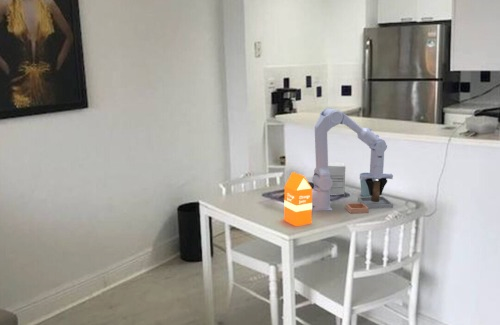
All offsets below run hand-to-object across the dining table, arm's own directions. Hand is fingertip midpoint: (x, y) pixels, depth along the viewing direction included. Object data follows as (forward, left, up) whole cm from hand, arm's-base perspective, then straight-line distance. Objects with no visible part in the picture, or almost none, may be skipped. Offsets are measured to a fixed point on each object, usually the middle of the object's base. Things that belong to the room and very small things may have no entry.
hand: (375, 194), depth 233 cm
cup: (+2, +16, -5) cm, 17 cm away
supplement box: (-13, +21, -5) cm, 25 cm away
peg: (0, 0, -3) cm, 3 cm away
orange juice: (-39, -18, -5) cm, 43 cm away
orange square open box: (-11, -8, -5) cm, 14 cm away
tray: (0, 0, -5) cm, 5 cm away
